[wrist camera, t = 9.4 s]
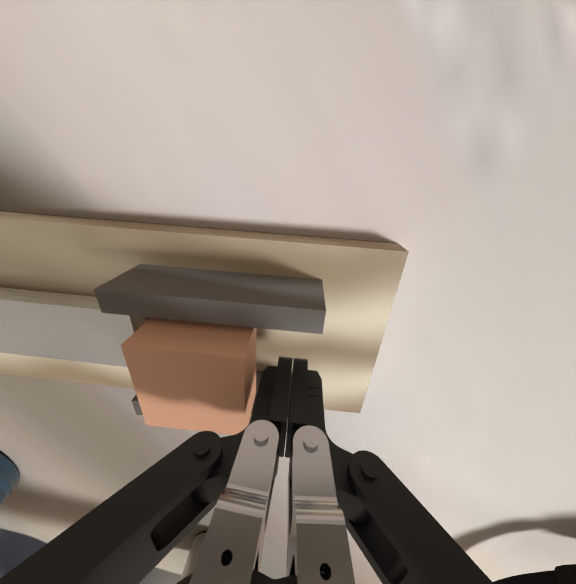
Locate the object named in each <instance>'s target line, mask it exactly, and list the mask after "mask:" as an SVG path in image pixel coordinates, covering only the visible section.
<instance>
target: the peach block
mask: <svg viewBox="0 0 576 584" xmlns="http://www.w3.org/2000/svg"><path fill="white" fill-rule="evenodd" d="M121 348H122V351H123V355H124V358H125V361H126V364H127V367H128V370H129V373H130V376H131V379H132V382H133V386H134V389H135V392H136V395H137V398H138V401H139V404H140V407H141V410H142V413H143V417H144V420H145V423H146V425H153V426H161V427H170V428H179V429H187V430H196V431H212V432H215V433H222V434H230V435H235V434H238V433H240V432H241V431H243V430H244V429H245V428H246V427H247V426H248V424H249V420H250V416H251V412H252V408H253V403H254V399H255V395H256V328H253V327H242V326H232V325H222V324H212V323H201V322H191V321H181V320H170V319H160V318H150V319H149V320H147V321H146V322H145V323H144V324H143V325H142V326H141V327H140V328H139V329H138V330H137V331H135V332H134V333H133V334H132V335H131V336H130V337H129V338H128V339H127V340H126V341H125V342H123V343H122V344H121Z"/></svg>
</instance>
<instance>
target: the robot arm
mask: <svg viewBox="0 0 576 584" xmlns="http://www.w3.org/2000/svg"><path fill="white" fill-rule="evenodd" d="M292 361H293V358H291V357H282V356H279V359H278V366H269V365H268V366H267V367H266V368H265V369H264V371H263V372H262V375H261V379H260V383H259V387H258V392H257V396H256V400H255V405H254V409H253V413H252V417H251V421H250V423H249V424H248V426H247V427H246V428H245V429H244V430H243V431H241V432H240V433H238V434H235V435H231V436H227V437H222V438H220V437H219V436H218V435H217V434H216V433H215V432H212V431H202V432H199V433H197V434H195V435H193V436H192V437H191V438H189V439H188V440H186V441H185V442H184V443H182V444H181V445H180V446H178V447H177V448H176V449H174V450H173V451H172V452H170V453H169V454H168V455H166V456H165V457H164V458H162V459H161V460H159V461H158V462H157V463H155V464H154V465H153V466H151V467H150V468H149V469H147V470H146V471H145V472H143V473H142V474H141V475H139V476H138V477H137V478H135V479H134V480H133V481H131V482H130V483H128V484H127V485H126V486H124V487H123V488H122V489H120V490H119V491H118V492H116V493H115V494H114V495H112V496H111V497H110V498H108V499H107V500H106V501H104V502H103V503H101V504H100V505H99V506H97V507H96V508H95V509H93V510H92V511H91V512H89V513H88V514H87V515H85V516H84V517H83V518H81V519H80V520H79V521H77V522H76V523H75V524H73V525H72V526H70V527H69V528H68V529H66V530H65V531H64V532H62V533H61V534H60V535H58V536H57V537H56V538H54V539H53V540H52V541H50V542H49V543H48V544H46V545H45V546H43V547H42V548H41V549H40V550H38V551H37V552H35V553H34V554H33V555H31V556H30V557H29V558H27V559H26V560H25V561H23V562H22V563H21V564H19V565H18V566H17V567H16V568H14V569H12V570H11V571H10V572H8V573H7V574H6V575H4V576H3V577H2V578H0V584H139V583H140V581H142V579H143V578H144V577H145V576H146V575H147V574H148V573H149V572H150V571H151V570H152V569H153V568H154V567H155V566H156V565H157V564H158V563H159V562H160V561H161V560H162V559H163V558H164V557H165V556H166V555H167V554H168V553H169V552H170V551H171V550H172V549H173V548H174V547H175V546H176V545H177V544H178V543H179V542H180V541H181V540H182V539H183V538H184V537H185V536H186V535H187V534H188V533H189V532H190V530H191V529H192V528H193V527H194V526H195V525H196V524H197V523H198V522H199V521H200V520H201V519H202V518H203V517H204V516H205V515H206V514H207V513H208V512H209V511H210V510H211V509H212V508H213V507H214V506H215V505H216V506H215V509H214V512H213V515H212V518H211V521H210V524H209V527H208V530H207V532H206V533H202V534H199V535H197V536H195V538H194V539H193V543H192V546H191V549H190V552H189V555H188V558H187V562H186V565H185V568H184V571H183V574H182V577H181V581H179V582H178V583H177V584H355V579H354V573H353V567H352V561H351V555H350V549H349V542H348V536H347V530H346V528H347V529H348V531H349V532H350V534H351V535H352V537H353V539H354V540H355V542H356V543H357V545H358V546H359V548H360V549H361V551H362V552H363V554H364V556H365V557H366V559H367V560H368V562H369V563H370V565H371V566H372V568H373V569H374V571H375V573H376V574H377V576H378V577H379V579H380V580H381V582H382V583H383V584H493V582H492V581H491V580H490V579H489V578H488V577H487V576H486V575H485V574H484V573H483V571H482V570H481V569H480V568H479V567H478V566H477V565H476V564H475V563H474V562H473V560H472V559H471V558H470V557H469V556H468V555H467V554H466V553H465V552H464V550H463V549H462V548H461V547H460V546H459V545H458V544H457V543H456V542H455V541H454V539H453V538H452V537H451V536H450V535H449V534H448V533H447V532H446V531H445V530H444V528H443V527H442V526H441V525H440V524H439V523H438V522H437V521H436V520H435V519H434V517H433V516H432V515H431V514H430V513H429V512H428V511H427V510H426V509H425V507H424V506H423V505H422V504H421V503H420V502H419V501H418V500H417V499H416V498H415V496H414V495H413V494H412V493H411V492H410V491H409V490H408V489H407V488H406V487H405V485H404V484H403V483H402V482H401V481H400V480H399V479H398V478H397V477H396V476H395V474H394V473H393V472H392V471H391V470H390V469H389V468H388V467H387V466H386V464H385V463H384V462H383V461H382V460H381V459H380V458H379V457H378V456H376V455H375V454H373V453H371V452H369V451H358V452H356V453H354V454H352V453H350V452H348V451H346V450H343V449H341V448H340V447H338V446H336V445H335V444H334V443H333V442H332V441H331V440H330V439H329V437H328V435H327V433H326V430H325V421H324V405H323V390H322V379H321V377H320V375H319V373H318V371H314V370H308V359H301V358H294V361H293V371H292ZM291 373H292V380H291ZM290 384H291V390H290ZM289 396H290V402H289ZM288 408H289V415H288ZM287 420H288V427H287ZM286 429H287V439H286ZM285 439H286V451H285V457H289V458H290V462H289V474H288V545H287V577H284V578H280V579H271V578H269V577H268V576H266V575H264V574H262V573H261V572H260V566H261V560H262V554H263V547H264V540H265V534H266V528H267V522H268V516H269V511H270V505H271V499H272V494H273V488H274V482H275V477H276V475H277V471H278V461H279V456H280V457H284V448H285Z"/></svg>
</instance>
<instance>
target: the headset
mask: <svg viewBox="0 0 576 584" xmlns="http://www.w3.org/2000/svg"><path fill="white" fill-rule="evenodd" d="M493 584H576V564H572V565H561V566H557V567H556V568H555V570H553V571H544V572H536V573H529V574H522V575H517V576H512V577H508V578H504V579H501V580H498V581H495V582H493Z"/></svg>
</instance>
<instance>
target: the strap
mask: <svg viewBox="0 0 576 584" xmlns="http://www.w3.org/2000/svg"><path fill="white" fill-rule="evenodd" d="M146 321H147V317H139V316H129V315H119V314H109V313H102V312H101V309H100V306H99V303H98V300H97V297H92V296H82V295H72V294H62V293H52V292H42V291H32V290H22V289H12V288H2V287H0V353H8V354H17V355H25V356H34V357H43V358H51V359H60V360H69V361H78V362H86V363H95V364H104V365H112V366H121V367H127V364H126V361H125V358H124V355H123V351H122V348H121V344H122V343H123V342H125V341H126V340H127V339H128V338H129V337H130V336H131V335H132V334H133V333H134V332H135V331H137V330H138V329H139V328H140V327H141V326H142V325H143V324H144V323H145V322H146Z"/></svg>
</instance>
